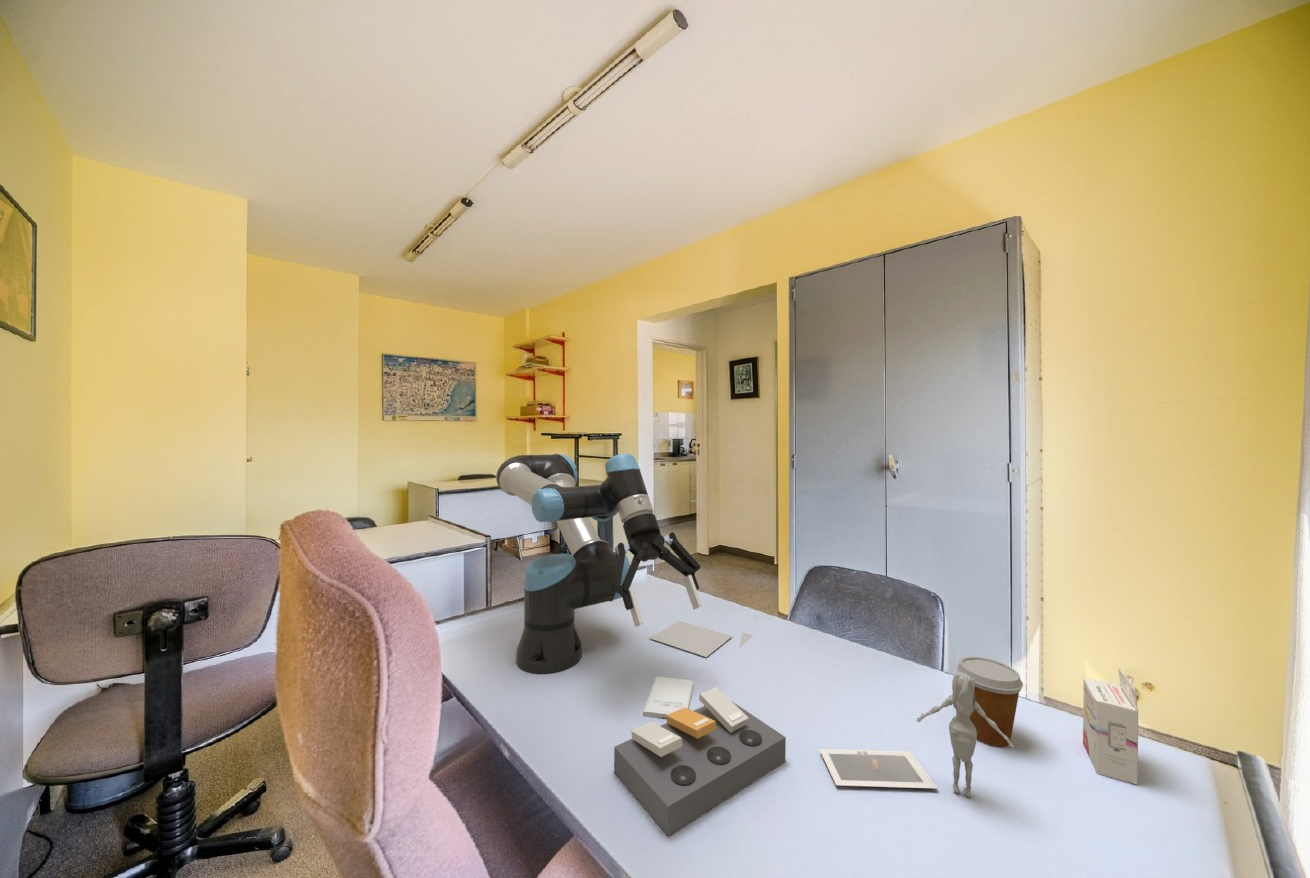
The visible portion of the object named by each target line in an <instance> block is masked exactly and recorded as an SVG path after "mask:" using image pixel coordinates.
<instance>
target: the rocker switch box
mask: <svg viewBox="0 0 1310 878" xmlns="http://www.w3.org/2000/svg"><path fill="white" fill-rule="evenodd" d="M732 702H733V703H734V704H735V705H736V706H737V707H738V708H739V709H740V710H741V711H742V712H743V713H744V714H745V715H746V716H747V717H748V718H749V719H748V724H747V725H745V726H743V727H741V728H739V729H737V730H735V731H733V732H731V733H730V732H729V731H728V730H727V729H726V728H725V727H724V725H723V724H722V723H721V722H720V721H719V720H718V719H717V718H716V717H715V716H714V715H713V714H712V713H711V712H710V711H709V710H708V709H707V708H706V707H705V706H704V705H703V706H701V707H699V708H696V709H694V710H693V711H694V712H696V713H699V714H701V715H703V716H705V717H708V718H710V719H712V720H714V721H716V730H714V731H712V732H710V733H708V734H706V735H704V736H702V737H700V738H698V739H697V738H695V737H693V736H691V735H689V734H687V733H685V732H684V731H682V730H680V729H678V728H676V727H674V726H672V725H670V724H668V723H667V722H666V723H664V724H661V725H660V726H661V727H662V728H664V729H666V730H668V731H670V732H672V733H674V734H676V735H677V736H679V737H681V738H682V747H680V748H678V749H676V750H674V751H672V752H670V753H668V754H666V755H664V756H662V757H660V756H659V755H657V754H655V753H654V752H652V751H651V750H649V749H647V748H646V747H644V746H643V745H641V744H639V743H638V742H636V741H635V740H633V739H632V738H631V739H629V740H627V741H624V742H622V743H619V744H618V745H616V746H615V745H614V748H613V750H614V751H613V756H614V757H613V760H614V761H613V766H614V767H613V772H614V774H615V775H616V776H617V778H619V780H620V781H621V782H622V783H623V785H624V786H625V787H626V789H628V791H629V792H630V793H631V794H632V796H633V797H634V798H635V799H636V800H637V801H638V802H639V804H640V805H641V806H642V807H643V809H644V810H645V811H646V812H647V813H648V815H649V816H650V817H651V818H652V820H653V821H654V822H655V823H656V824H657V826H659V828H660V829H661V830H662V831H663V833H664V834H665V835H666V836H667V837H670V836H671V835H673V834H674V833H676V832H677V831H679V830H680V829H683V828H684V827H686V826H687V825H688V824H690V823H692V822H694V821H695V820H696V819H698V818H699V817H701V816H703V815H704V814H706V813H707V812H709V811H710V810H712V809H714V808H715V807H717V806H719V805H720V804H721V803H723V802H724V801H726V800H728V799H729V798H731V797H732V796H734V795H735V794H737V793H738V792H740V791H742V790H743V789H746V787H748V786H749V785H751V784H752V783H755V782H756V781H758V780H759V779H760V778H762V777H764V776H765V775H767V774H768V773H770V772H771V771H773V770H775V769H776V768H778V767H779V766H781V765H782V764H784V763H785V762H786V750H787V749H786V741H787V740H786V739H787V738H786V736H785V735H784V734H781V733H780V732H779V731H777V730H775V729H774V728H773V727H771V726H770V725H768V724H767V723H766V722H763V720H761V719H759V718H758V717H756V716H755V715H753V714H752V713H750V712H748V711H747V710H746V709H744V708H743V707H741V706H740V705H738V704H737V703H735V702H734V701H732Z"/></svg>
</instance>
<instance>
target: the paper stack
mask: <svg viewBox="0 0 1310 878" xmlns="http://www.w3.org/2000/svg"><path fill="white" fill-rule="evenodd" d="M740 637H741V638H740V643H739V649H740V648H742V646H744V645H745V644H746V643H747V642H748V641H750V640H751V639H752V638H753V637H754V635H753V634H749V633H746V632H744V631H743V632H742V633H741V636H740ZM731 638H733V635H729V634H727V633H726V634H725V633H724V632H723V633H722V632H719V631H715V630H713V629H709V628H705V627H702V626H698V625H695V624H691V623H689V622H686V621H682V620H678V621H676V622H675V623H673V624H671V625H669V626H668V627H666V628H665V629H662V630H661V631H660V632H658V633H656V634H654V635H653V636H651V637H650V638H649V639H650V640H653V641H656V642H660V643H663V644H666V645H669V646H672V647H675V648H677V649H679V650H683V651H687V652H690V653H692V654H696V655H698V656H701V657H704V658H707V657H709V656H710V655H711V654H712V653H713V652H715V651H716V650H717V649H718V648H720V647H721V646H722V645H724V644H725V643H727V641H728V640H730V639H731Z"/></svg>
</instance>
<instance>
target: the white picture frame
mask: <svg viewBox="0 0 1310 878" xmlns="http://www.w3.org/2000/svg"><path fill="white" fill-rule="evenodd" d="M818 749H819V752H820V754H821V756H822V758H823V760H824V762H825V764H826V766H827V768H828V771H829V773H830V775H831V777H832V779H833V781H834V784H835V785H836V786H842V787H843V786H845V787H846V786H848V787H877V788H878V787H879V788H883V787H884V788H907V789H908V788H910V789H911V788H912V789H939V788H938V786H937V785H936V783H934V781H933V779H932V778H931V777H930V776H929V775H928V773H927V772H926V771H925V769H924V768H923V767H922V765H921V764H920V763H919V761H918V760H917V759H916V758H915V756H914V755H913V753H912V752H911V751H907V750H905V751H901V750H900V751H899V750H870V749H869V750H868V749H836V748H835V749H834V748H832V749H831V748H818Z"/></svg>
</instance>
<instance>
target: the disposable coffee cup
mask: <svg viewBox="0 0 1310 878" xmlns="http://www.w3.org/2000/svg"><path fill="white" fill-rule="evenodd" d="M956 671H957V673H958V672H962V673H966V674H967V675H969V676H970V677H971V678H973V679H974V680H975V688H974V695H975V701H976V702H977V703H978V704H979V705H980V707H981V709H982V710H983V711H984V712H985V714H986V717H987V718H989V719H990V720H992V721H994V722H995V723H996V725H997V727H998V729H999V730H1000V731H1001V732H1002V733H1003V734H1004V735H1006V736H1007V737H1008V738H1009V740H1010V742H1011V741H1012V735H1013V734H1012V733H1013V730H1014V729H1013V728H1014V723H1015V717H1016V713H1017V706H1018V701H1019V696H1020V692H1021V690H1022V689H1023V687H1024V682H1023V681H1022V680H1021V677H1020V673H1019V672H1017V670H1016V669H1014V668H1013V667H1011V666H1010V665H1007V664H1005V663H1002V662H1000V661H997V660H995V659H994V660H993V659H990V658H988V657H987V658H986V657H981V656H965V657H962V658H960V660H959V663H958V664H957V665H956ZM969 718H970V720H971V722H972V723H973V724H974V726H975V728H976V731H977V734H978V737H977V740H976V741H979V742H980V743H983V744H986V745H988V746H993V747H997V748H1005V747H1008V746H1010V745H1009V743H1008V742H1007V741H1006V740H1005V738H1004V737H1003V736H1002V735H1001V734H999V733H998V732H997V731H996V730H995V729H994V728H993V727H991V726H990V725H989V723H988V722H987V720H986V719H985V718H984V717H982V716H981V715H980V714H979V713H978V712H977V711H976V710H975V709H974V711H973V712H972V713H971V715H970V716H969Z"/></svg>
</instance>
